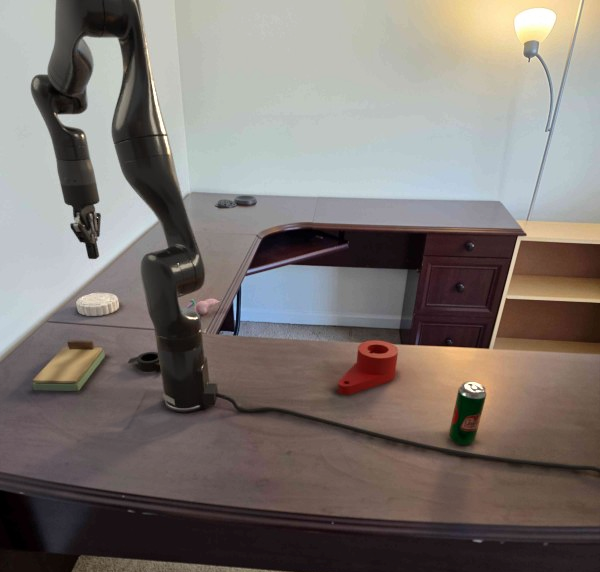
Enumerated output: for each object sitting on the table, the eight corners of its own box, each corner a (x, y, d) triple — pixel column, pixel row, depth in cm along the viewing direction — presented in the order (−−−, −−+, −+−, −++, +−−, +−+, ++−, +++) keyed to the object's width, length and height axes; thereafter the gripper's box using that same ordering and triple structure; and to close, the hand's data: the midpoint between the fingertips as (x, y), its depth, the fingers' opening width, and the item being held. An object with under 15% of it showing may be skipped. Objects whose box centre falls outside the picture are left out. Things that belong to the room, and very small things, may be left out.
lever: (371, 360, 126) (373, 337, 123) (402, 373, 121) (405, 349, 117) (324, 386, 115) (326, 360, 112) (356, 401, 110) (359, 375, 106)
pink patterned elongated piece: (184, 329, 145) (225, 308, 152) (179, 310, 141) (221, 290, 148) (173, 322, 148) (213, 302, 156) (167, 304, 145) (209, 285, 152)
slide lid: (102, 349, 125) (100, 340, 123) (76, 383, 110) (73, 373, 109) (64, 348, 125) (61, 339, 123) (33, 382, 110) (29, 372, 109)
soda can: (459, 449, 96) (471, 396, 89) (443, 434, 100) (453, 383, 93) (480, 443, 98) (493, 390, 91) (463, 429, 101) (475, 378, 95)
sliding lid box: (105, 357, 126) (103, 350, 125) (79, 392, 111) (77, 384, 110) (66, 356, 126) (64, 349, 125) (34, 391, 111) (32, 384, 110)
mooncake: (87, 319, 146) (84, 308, 144) (72, 308, 153) (69, 296, 152) (125, 310, 153) (123, 298, 151) (109, 299, 160) (107, 288, 158)
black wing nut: (153, 356, 127) (152, 345, 125) (176, 369, 121) (174, 358, 120) (126, 366, 122) (124, 355, 121) (148, 380, 116) (146, 369, 115)
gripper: (83, 186, 106) (99, 266, 115) (104, 176, 117) (118, 250, 126) (48, 185, 106) (67, 266, 115) (73, 176, 117) (88, 250, 126)
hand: (94, 258), depth 120 cm, fingers closed
